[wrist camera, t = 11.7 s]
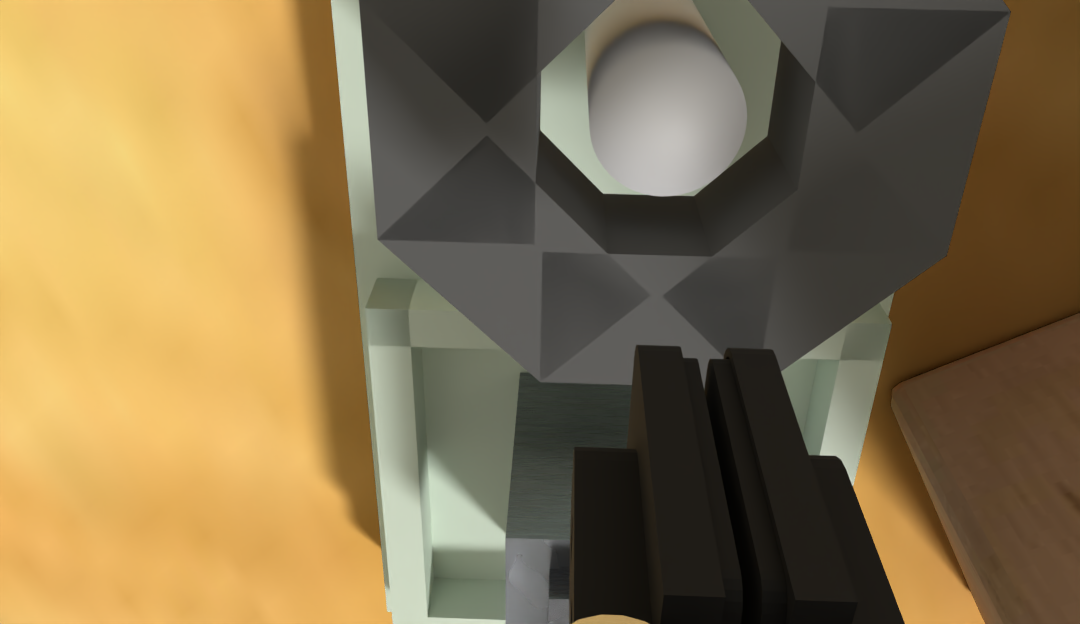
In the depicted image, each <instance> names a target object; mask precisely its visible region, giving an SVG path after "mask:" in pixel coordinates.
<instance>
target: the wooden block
mask: <svg viewBox="0 0 1080 624" xmlns="http://www.w3.org/2000/svg"><path fill="white" fill-rule="evenodd" d="M891 408H892V410H893V412H894V415H895V417H896V419H897V422H898V424H899V426H900V429H901V431H902V433H903V436H904V438H905V440H906V443H907V445H908V447H909V449H910V452H911V454H912V456H913V459H914V461H915V463H916V466H917V468H918V470H919V473H920V475H921V477H922V480H923V482H924V484H925V487H926V489H927V491H928V493H929V496H930V498H931V500H932V503H933V505H934V507H935V510H936V512H937V514H938V517H939V519H940V521H941V524H942V526H943V528H944V531H945V533H946V535H947V537H948V540H949V542H950V544H951V547H952V549H953V551H954V554H955V556H956V558H957V561H958V563H959V565H960V568H961V570H962V572H963V575H964V577H965V579H966V581H967V584H968V586H969V588H970V591H971V593H972V595H973V598H974V600H975V602H976V605H977V607H978V609H979V611H980V613H981V615H982V618H983V620H984V622H985V624H1080V313H1078V314H1075V315H1073V316H1070V317H1068V318H1065V319H1063V320H1060V321H1057V322H1055V323H1052V324H1050V325H1047V326H1045V327H1042V328H1039V329H1037V330H1034V331H1032V332H1029V333H1027V334H1024V335H1021V336H1019V337H1016V338H1014V339H1011V340H1009V341H1006V342H1003V343H1001V344H998V345H996V346H993V347H991V348H988V349H985V350H983V351H980V352H978V353H975V354H973V355H970V356H967V357H965V358H962V359H960V360H957V361H955V362H952V363H949V364H947V365H944V366H942V367H939V368H937V369H934V370H931V371H929V372H926V373H924V374H921V375H919V376H916V377H913V378H911V379H908V380H906V381H903V382H901V383H899V384H898V385H897V386H895V387H894V388H893V389H892V398H891Z"/></svg>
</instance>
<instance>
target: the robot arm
mask: <svg viewBox="0 0 1080 624" xmlns="http://www.w3.org/2000/svg"><path fill="white" fill-rule="evenodd" d="M569 624H905V623H904V621H903V618H902V615H901V613H900V610H899V608H898V605H897V602H896V600H895V597H894V594H893V592H892V589H891V586H890V584H889V581H888V579H887V576H886V573H885V571H884V568H883V565H882V563H881V560H880V557H879V555H878V552H877V550H876V547H875V544H874V542H873V539H872V536H871V534H870V531H869V528H868V526H867V523H866V521H865V518H864V515H863V513H862V510H861V507H860V505H859V502H858V499H857V497H856V494H855V492H854V489H853V486H852V484H851V481H850V478H849V476H848V473H847V470H846V468H845V466H844V464H843V462H842V460H841V459H840V458H838V457H837V456H825V455H809V454H808V451H807V448H806V445H805V442H804V439H803V436H802V433H801V430H800V427H799V424H798V421H797V418H796V415H795V412H794V409H793V406H792V403H791V400H790V397H789V394H788V391H787V388H786V385H785V382H784V379H783V376H782V373H781V370H780V367H779V364H778V361H777V358H776V355H775V353H774V351H773V350H772V349H752V348H727V349H726V351H725V354H724V358H723V359H710V360H709V362H708V366H707V373H706V380H705V388H704V387H703V382H702V377H701V372H700V367H699V362H698V359H697V358H683V355H682V350H681V347H680V346H660V345H636V348H635V355H634V365H633V377H632V389H631V401H630V413H629V425H628V437H627V449H624V448H595V447H574V452H573V471H572V493H571V521H570V577H569Z"/></svg>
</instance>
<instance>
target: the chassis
mask: <svg viewBox="0 0 1080 624" xmlns="http://www.w3.org/2000/svg"><path fill="white" fill-rule="evenodd" d="M331 7H332V18H333V29H334V40H335V51H336V62H337V72H338V83H339V94H340V105H341V116H342V127H343V138H344V148H345V159H346V170H347V181H348V192H349V203H350V213H351V224H352V235H353V246H354V257H355V268H356V278H357V289H358V300H359V311H360V322H361V333H362V343H363V354H364V365H365V376H366V387H367V398H368V409H369V419H370V430H371V441H372V452H373V463H374V474H375V484H376V495H377V506H378V517H379V528H380V539H381V549H382V560H383V571H384V582H385V593H386V604H387V612H392V620H393V624H506V576H505V537H506V526H507V515H508V503H509V492H510V480H511V469H512V458H513V446H514V435H515V423H516V412H517V401H518V389H519V378H520V372H524V373H529V372H528V371H527V370H526V369H525V368H523V367H522V366H521V365H520V364H519V363H518V362H517V361H515V360H514V359H513V358H512V357H511V356H510V355H509V354H507V353H506V352H505V351H504V350H503V349H502V348H501V347H499V346H498V345H497V344H496V343H495V342H494V341H493V340H491V339H490V338H489V337H488V336H487V335H486V334H485V333H483V332H482V331H481V330H480V329H479V328H478V327H477V326H475V325H474V324H473V323H472V322H471V321H470V320H469V319H467V318H466V317H465V316H464V315H463V314H462V313H461V312H460V311H458V310H457V309H456V308H455V307H454V306H453V305H452V304H450V303H449V302H448V301H447V300H446V299H445V298H444V297H442V296H441V295H440V294H439V293H438V292H437V291H436V290H434V289H433V288H432V287H431V286H430V285H429V284H428V283H426V282H425V281H424V280H423V279H422V278H421V277H420V276H418V275H417V274H416V273H415V272H414V271H413V270H412V269H410V268H409V267H408V266H407V265H406V264H405V263H404V262H402V261H401V260H400V259H399V258H398V257H397V256H396V255H395V254H393V253H392V252H391V251H390V250H389V249H388V248H387V247H385V246H384V245H383V244H382V243H381V242H380V241H379V240H377V227H376V214H375V201H374V188H373V175H372V162H371V150H370V137H369V124H368V111H367V98H366V85H365V72H364V59H363V47H362V34H361V21H360V8H359V0H331ZM780 45H781V40H780V39H779V37H778V36H777V35H776V34H775V32H774V31H773V30H772V29H771V28H770V26H769V25H768V24H767V23H766V22H765V20H764V19H763V18H762V17H761V16H760V14H759V13H758V12H757V11H756V9H755V8H754V7H753V6H752V5H751V3H750V2H749V1H748V0H615V1H614V2H613V3H612V4H611V5H610V6H609V7H608V8H607V9H606V10H605V11H604V12H602V13H601V14H600V15H599V16H598V17H597V18H596V19H595V20H594V21H593V22H592V23H591V24H590V25H589V26H588V27H587V28H586V29H585V30H584V31H583V32H582V33H581V34H580V35H578V36H577V37H576V38H575V39H574V40H573V41H572V42H571V43H570V44H569V45H568V46H567V47H566V48H565V49H564V50H563V51H562V52H561V53H560V54H559V55H558V56H557V57H555V58H554V59H553V60H552V61H551V62H550V63H549V64H548V65H547V66H546V67H545V68H544V69H543V70H542V71H541V110H540V130H541V131H542V132H543V133H544V134H545V135H546V136H547V137H548V138H549V139H550V141H551V142H552V143H553V144H554V145H555V146H556V147H557V148H558V149H559V150H560V151H561V152H562V153H563V154H564V155H565V156H566V157H567V158H568V159H569V160H570V161H571V162H572V163H573V164H574V165H575V166H576V167H577V168H578V169H579V170H580V171H581V172H582V173H583V174H584V175H585V176H586V177H587V178H588V179H589V180H590V181H591V182H592V183H593V184H594V185H595V186H596V187H597V188H598V189H599V190H600V191H601V192H602V193H603V194H635V195H651V196H695V195H696V194H697V193H698V192H700V191H701V190H702V189H703V188H704V187H706V186H707V185H708V184H709V183H710V182H712V181H713V180H714V179H715V178H717V177H718V176H719V175H720V174H721V173H723V172H724V171H725V170H726V169H728V168H729V167H730V166H731V165H732V164H734V163H735V162H736V161H737V160H739V159H740V158H741V157H742V156H743V155H745V154H746V153H747V152H748V151H750V150H751V149H752V148H753V147H754V146H756V145H757V144H758V143H759V142H761V141H762V140H763V139H764V138H765V137H767V134H768V127H769V120H770V114H771V107H772V100H773V93H774V86H775V79H776V72H777V65H778V58H779V52H780ZM893 296H894V293H893V294H891V295H890V296H888V297H887V298H885V299H884V300H883V301H881V302H880V303H878V304H877V305H875V306H874V307H873V308H871V309H870V310H868V311H867V312H865V313H864V314H863V315H861V316H860V317H858V318H857V319H855V320H854V321H853V322H851V323H850V324H848V325H847V326H845V327H844V328H843V329H841V330H840V331H838V332H837V333H835V334H834V335H833V336H831V337H830V338H828V339H827V340H825V341H824V342H823V343H821V344H820V345H818V346H817V347H815V348H814V349H813V350H811V351H810V352H808V353H807V354H805V355H804V356H803V357H801V358H800V359H798V360H797V361H795V362H794V363H793V364H791V365H790V366H788V367H787V368H785V369H784V370H783V371H781V373H782V376H783V379H784V382H785V385H786V388H787V391H788V394H789V397H790V400H791V403H792V406H793V409H794V412H795V415H796V418H797V421H798V424H799V427H800V430H801V433H802V436H803V439H804V442H805V445H806V448H807V451H808V454H809V455H825V456H837V457H838V458H840V459H841V460H842V462H843V464H844V466H845V468H846V470H847V473H848V476H849V478H850V481H851V484H852V486H853V485H854V480H855V476H856V472H857V468H858V464H859V460H860V455H861V451H862V447H863V443H864V439H865V435H866V430H867V426H868V422H869V418H870V414H871V410H872V405H873V401H874V397H875V393H876V389H877V385H878V380H879V376H880V372H881V368H882V364H883V360H884V355H885V351H886V347H887V343H888V339H889V335H890V330H891V326H892V323H891V321H890V320H889V318H888V317H889V312H890V308H891V304H892V300H893Z"/></svg>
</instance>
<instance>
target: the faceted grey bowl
mask: <svg viewBox="0 0 1080 624" xmlns="http://www.w3.org/2000/svg"><path fill="white" fill-rule="evenodd" d="M614 1H615V0H359V8H360V21H361V34H362V47H363V59H364V72H365V85H366V98H367V111H368V124H369V137H370V150H371V162H372V175H373V188H374V201H375V214H376V227H377V240H379V241H380V242H381V243H382V244H383V245H384V246H385V247H387V248H388V249H389V250H390V251H391V252H392V253H393V254H395V255H396V256H397V257H398V258H399V259H400V260H401V261H402V262H404V263H405V264H406V265H407V266H408V267H409V268H410V269H412V270H413V271H414V272H415V273H416V274H417V275H418V276H420V277H421V278H422V279H423V280H424V281H425V282H426V283H428V284H429V285H430V286H431V287H432V288H433V289H434V290H436V291H437V292H438V293H439V294H440V295H441V296H442V297H444V298H445V299H446V300H447V301H448V302H449V303H450V304H452V305H453V306H454V307H455V308H456V309H457V310H458V311H460V312H461V313H462V314H463V315H464V316H465V317H466V318H467V319H469V320H470V321H471V322H472V323H473V324H474V325H475V326H477V327H478V328H479V329H480V330H481V331H482V332H483V333H485V334H486V335H487V336H488V337H489V338H490V339H491V340H493V341H494V342H495V343H496V344H497V345H498V346H499V347H501V348H502V349H503V350H504V351H505V352H506V353H507V354H509V355H510V356H511V357H512V358H513V359H514V360H515V361H517V362H518V363H519V364H520V365H521V366H522V367H523V368H525V369H526V370H527V371H528V372H529V373H530V374H531V375H532V376H534V377H535V378H536V379H537V380H538V381H539V382H550V383H583V384H615V385H632V377H633V365H634V355H635V348H636V345H660V346H680V347H681V350H682V355H683V358H697V359H698V362H699V367H700V372H701V377H702V382H703V387H705V380H706V373H707V366H708V362H709V360H710V359H723V358H724V354H725V351H726V349H727V348H752V349H772V350H773V351H774V353H775V355H776V358H777V361H778V364H779V367H780V370H781V371H783V370H784V369H785V368H787V367H788V366H790V365H791V364H793V363H794V362H795V361H797V360H798V359H800V358H801V357H803V356H804V355H805V354H807V353H808V352H810V351H811V350H813V349H814V348H815V347H817V346H818V345H820V344H821V343H823V342H824V341H825V340H827V339H828V338H830V337H831V336H833V335H834V334H835V333H837V332H838V331H840V330H841V329H843V328H844V327H845V326H847V325H848V324H850V323H851V322H853V321H854V320H855V319H857V318H858V317H860V316H861V315H863V314H864V313H865V312H867V311H868V310H870V309H871V308H873V307H874V306H875V305H877V304H878V303H880V302H881V301H883V300H884V299H885V298H887V297H888V296H890V295H891V294H893V293H894V292H895V291H897V290H898V289H900V288H901V287H903V286H904V285H906V284H907V283H908V282H910V281H911V280H913V279H914V278H916V277H917V276H918V275H920V274H921V273H923V272H924V271H926V270H927V269H928V268H930V267H931V266H933V265H934V264H936V263H937V262H938V261H940V260H941V259H943V258H944V257H946V256H947V253H948V249H949V245H950V241H951V237H952V234H953V230H954V226H955V222H956V218H957V215H958V211H959V207H960V203H961V199H962V196H963V192H964V188H965V184H966V180H967V177H968V173H969V169H970V165H971V161H972V158H973V154H974V150H975V146H976V142H977V139H978V135H979V131H980V127H981V123H982V120H983V116H984V112H985V108H986V104H987V101H988V97H989V93H990V89H991V85H992V82H993V78H994V74H995V70H996V66H997V63H998V59H999V55H1000V51H1001V47H1002V44H1003V40H1004V36H1005V32H1006V28H1007V25H1008V21H1009V17H1010V13H1011V11H1010V10H1009V9H1008V7H1007V6H1006V4H1005V3H1004V2H1003V0H748V1H749V2H750V3H751V5H752V6H753V7H754V8H755V9H756V11H757V12H758V13H759V14H760V16H761V17H762V18H763V19H764V20H765V22H766V23H767V24H768V25H769V26H770V28H771V29H772V30H773V31H774V32H775V34H776V35H777V36H778V37H779V39H780V40H781V45H780V52H779V58H778V65H777V72H776V79H775V86H774V93H773V100H772V107H771V114H770V120H769V127H768V134H767V137H765V138H764V139H763V140H762V141H761V142H759V143H758V144H757V145H756V146H754V147H753V148H752V149H751V150H750V151H748V152H747V153H746V154H745V155H743V156H742V157H741V158H740V159H739V160H737V161H736V162H735V163H734V164H732V165H731V166H730V167H729V168H728V169H726V170H725V171H724V172H723V173H721V174H720V175H719V176H718V177H717V178H715V179H714V180H713V181H712V182H710V183H709V184H708V185H707V186H706V187H704V188H703V189H702V190H701V191H700V192H698V193H697V194H696V195H695V196H651V195H635V194H603V193H602V192H601V191H600V190H599V189H598V188H597V187H596V186H595V185H594V184H593V183H592V182H591V181H590V180H589V179H588V178H587V177H586V176H585V175H584V174H583V173H582V172H581V171H580V170H579V169H578V168H577V167H576V166H575V165H574V164H573V163H572V162H571V161H570V160H569V159H568V158H567V157H566V156H565V155H564V154H563V153H562V152H561V151H560V150H559V149H558V148H557V147H556V146H555V145H554V144H553V143H552V142H551V141H550V139H549V138H548V137H547V136H546V135H545V134H544V133H543V132H542V131H541V130H540V110H541V71H542V70H543V69H544V68H545V67H546V66H547V65H548V64H549V63H550V62H551V61H552V60H553V59H554V58H555V57H557V56H558V55H559V54H560V53H561V52H562V51H563V50H564V49H565V48H566V47H567V46H568V45H569V44H570V43H571V42H572V41H573V40H574V39H575V38H576V37H577V36H578V35H580V34H581V33H582V32H583V31H584V30H585V29H586V28H587V27H588V26H589V25H590V24H591V23H592V22H593V21H594V20H595V19H596V18H597V17H598V16H599V15H600V14H601V13H602V12H604V11H605V10H606V9H607V8H608V7H609V6H610V5H611V4H612V3H613V2H614Z"/></svg>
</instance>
